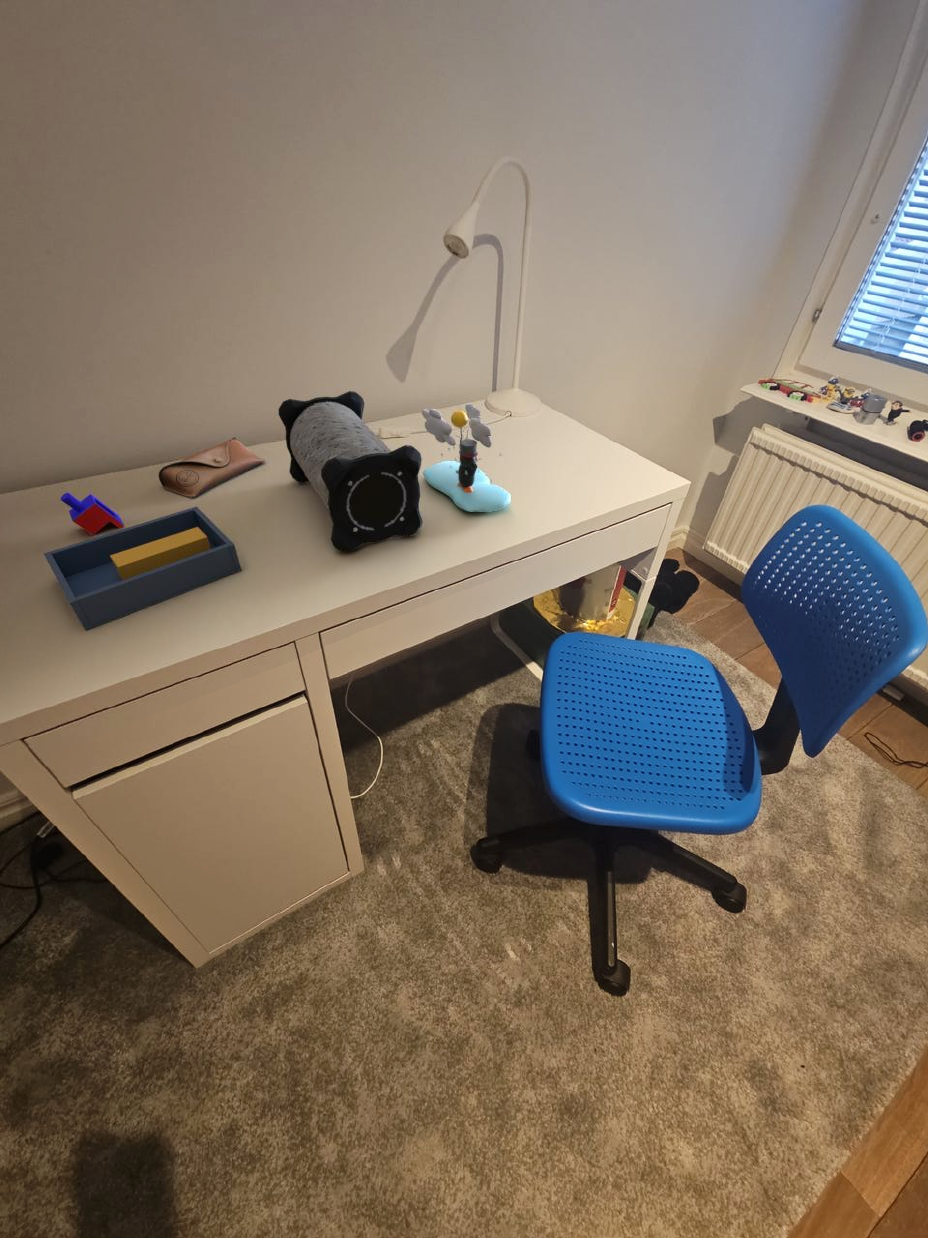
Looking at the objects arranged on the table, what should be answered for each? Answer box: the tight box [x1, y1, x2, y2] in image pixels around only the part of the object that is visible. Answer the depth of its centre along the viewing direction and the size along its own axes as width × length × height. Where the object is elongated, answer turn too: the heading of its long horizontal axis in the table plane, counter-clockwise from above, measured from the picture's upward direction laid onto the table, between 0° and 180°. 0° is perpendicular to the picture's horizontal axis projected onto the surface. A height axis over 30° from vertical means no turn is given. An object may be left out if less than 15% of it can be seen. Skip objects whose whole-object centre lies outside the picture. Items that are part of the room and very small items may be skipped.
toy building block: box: [59, 492, 124, 536], centre depth 84 cm, size 4×4×8 cm
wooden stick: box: [110, 527, 211, 580], centre depth 77 cm, size 4×4×12 cm
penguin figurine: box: [421, 403, 512, 513], centre depth 94 cm, size 20×11×15 cm, turn 30°
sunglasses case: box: [158, 436, 266, 498], centre depth 100 cm, size 18×7×7 cm
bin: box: [43, 506, 242, 631], centre depth 76 cm, size 21×14×5 cm, turn 132°
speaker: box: [278, 390, 424, 552], centre depth 89 cm, size 15×29×15 cm, turn 28°
